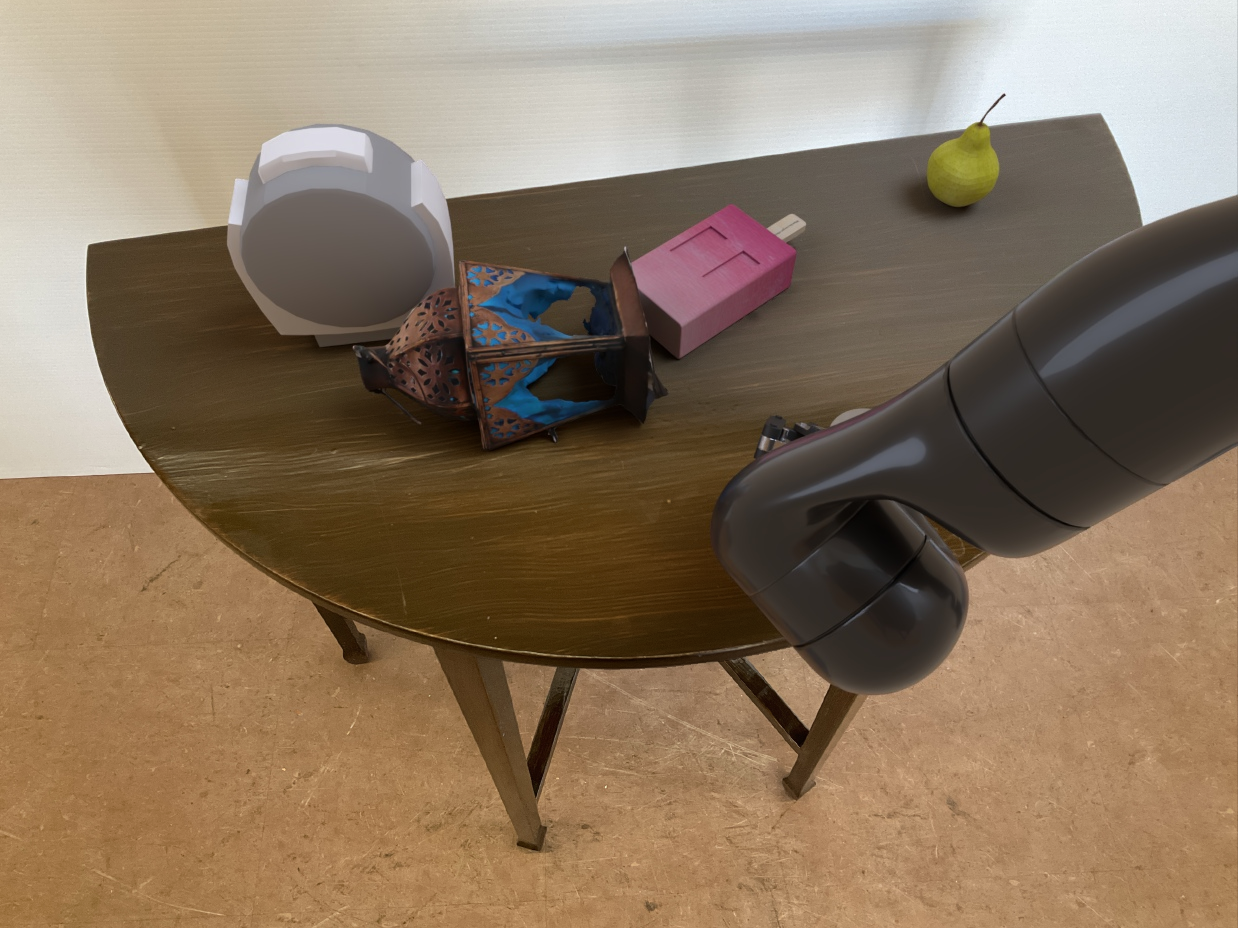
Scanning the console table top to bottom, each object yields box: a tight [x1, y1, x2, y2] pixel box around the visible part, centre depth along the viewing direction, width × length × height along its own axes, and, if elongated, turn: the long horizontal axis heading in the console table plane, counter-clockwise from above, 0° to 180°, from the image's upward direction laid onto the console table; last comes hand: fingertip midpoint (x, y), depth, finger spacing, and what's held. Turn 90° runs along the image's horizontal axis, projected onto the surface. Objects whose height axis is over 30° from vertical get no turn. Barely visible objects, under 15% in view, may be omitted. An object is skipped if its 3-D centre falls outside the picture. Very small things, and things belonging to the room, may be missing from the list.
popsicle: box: [631, 203, 807, 360], centre depth 83 cm, size 9×5×20 cm
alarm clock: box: [226, 123, 456, 348], centre depth 75 cm, size 18×8×20 cm, turn 98°
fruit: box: [926, 92, 1007, 208], centre depth 86 cm, size 7×7×12 cm
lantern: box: [352, 246, 669, 452], centre depth 73 cm, size 16×16×25 cm
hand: (863, 453), depth 65 cm, fingers open, 8 cm apart
